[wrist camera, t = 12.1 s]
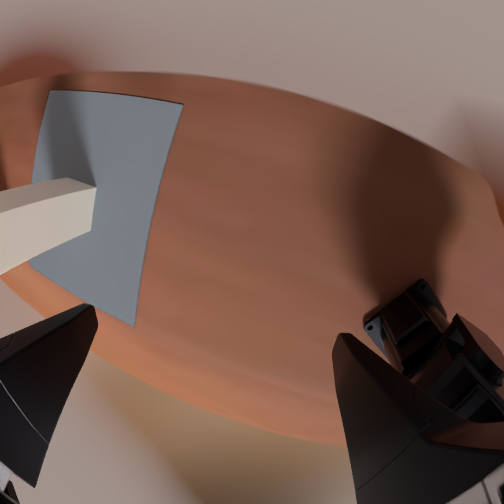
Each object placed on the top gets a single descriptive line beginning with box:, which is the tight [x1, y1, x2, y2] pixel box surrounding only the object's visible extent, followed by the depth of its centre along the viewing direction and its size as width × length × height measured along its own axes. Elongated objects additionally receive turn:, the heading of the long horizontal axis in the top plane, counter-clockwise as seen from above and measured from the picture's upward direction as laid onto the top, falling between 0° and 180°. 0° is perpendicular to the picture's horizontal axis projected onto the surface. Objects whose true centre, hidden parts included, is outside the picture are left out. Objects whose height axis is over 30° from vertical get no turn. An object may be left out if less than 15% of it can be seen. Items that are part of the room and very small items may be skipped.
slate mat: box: [30, 90, 184, 327], centre depth 21 cm, size 16×20×1 cm
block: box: [0, 177, 97, 275], centre depth 15 cm, size 4×4×12 cm
